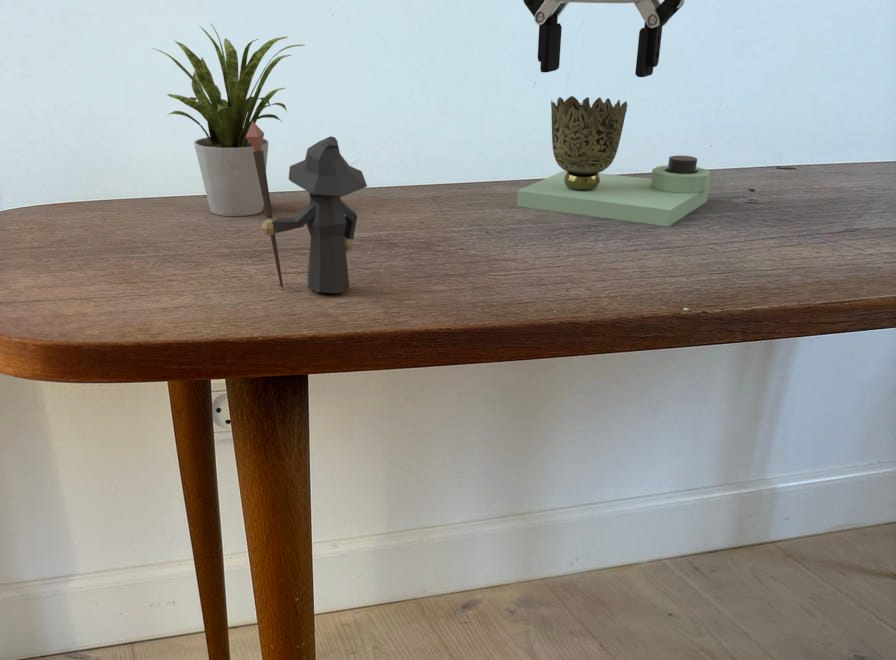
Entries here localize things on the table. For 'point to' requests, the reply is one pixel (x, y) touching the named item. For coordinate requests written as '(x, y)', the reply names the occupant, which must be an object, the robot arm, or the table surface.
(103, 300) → the table surface
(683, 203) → the scale
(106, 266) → the table surface
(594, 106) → the cup
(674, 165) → the button
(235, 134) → the house plant
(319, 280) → the wizard figurine
